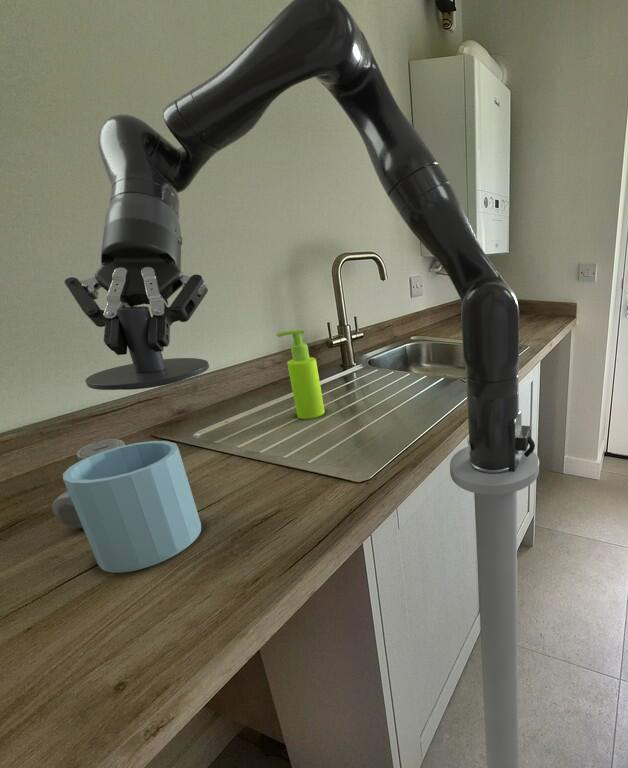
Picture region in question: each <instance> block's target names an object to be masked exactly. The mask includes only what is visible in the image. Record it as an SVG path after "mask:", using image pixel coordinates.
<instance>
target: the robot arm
mask: <svg viewBox="0 0 628 768" xmlns="http://www.w3.org/2000/svg"><path fill="white" fill-rule="evenodd" d="M313 78H315V79H316V81H318V82H319V83H321V85H323V87H325V89H326V90H327V91H328V92H329V93H330V95H331V96H332V97H333V98H334V100H335V101H336V102H337V104H338V105H339V106H340V108H341V109H342V110H343V112H344V114H346V116H347V118H348V119H349V120H350V122H351V123H352V124H353V126H354V127H355V129H356V131H357V132H358V134H359V135H360V137H361V139H362V141H363V145H364V146H365V148H366V151H367V153H368V157H369V159H370V161H371V164H372V167H373V168H374V171H375V174H376V176H377V178H378V180H379V182H380V185H381V187H382V188H383V190H384V192H385V193H386V195H387V197H388V198H389V200H390V202H391V203H392V205H393V207H394V208H395V210H396V211H397V213H398V214H399V216H400V218H401V219H402V220H403V222H404V223H405V224H406V226H407V227H408V228H409V230H410V231H411V232H412V233H413V235H414V236H415V237H416V238H417V240H418V241H419V242H420V243H421V244H422V245H423V246H424V248H425V249H426V250H427V251H428V252H429V253H430V254H431V256H432V257H433V258H434V259H435V260H436V261H437V262H438V264H439V265H440V266H441V267H442V268H443V270H444V271H445V273H446V275H447V276H448V277H449V280H450V281H451V283H452V285H453V287H454V289H455V291H456V293H457V295H458V296H459V298H460V300H461V311H460V318H461V321H460V322H461V334H462V335H461V338H462V352H463V360H464V366H465V381H466V384H465V385H466V402H467V403H466V404H467V423H468V424H467V426H468V436H467V445H468V446H469V449H470V451H469V452H470V465H471V467H472V468H473V469H475V470H477V471H479V472H482V473H488V474H499V473H504V472H508V471H511V472H515V471H516V468H517V466H518V464H519V461H520V459H521V456H522V451H526V450H527V448H529V449H528V450H527V451H526V452H525V453H524V455H525V456H526V457H528V456H529V455H530V454H531V453H532V452H535V449H536V443H535V441H534V440H533V438H532V426H531V425H522V411H521V410H520V403H519V401H520V399H519V395H520V394H519V393H520V392H519V390H520V389H519V373H520V372H519V368H520V367H519V366H520V364H519V363H520V309H519V303H518V299H517V296H516V294H515V292H514V291H513V289H512V288H511V287H510V285H509V284H508V283H507V282H506V281H505V279H504V278H503V277H502V276H501V274H500V273H499V271H498V270H497V269H496V267H495V266H494V264H493V263H492V261H491V260H490V259H489V257H488V255H487V254H486V253H485V251H484V249H483V248H482V246H481V244H480V242H479V241H478V238H477V236H476V234H475V232H474V229H473V227H472V225H471V223H470V221H469V217H468V216H467V214H466V212H465V210H464V207H463V206H462V204H461V201H460V200H459V197H458V196H457V194H456V191H455V190H454V188H453V186H452V185H451V182H450V181H449V179H448V177H447V176H446V174H445V172H444V171H443V169H442V167H441V165H440V164H439V162H438V160H437V159H436V157H435V156H434V154H433V153H432V151H431V150H430V148H429V147H428V145H427V143H426V142H425V141H424V139H423V138H422V136H421V135H420V134H419V133H418V131H417V130H416V129H415V127H414V126H413V125H412V123H411V122H410V121H409V119H408V117H406V115H405V114H404V113H403V111H402V110H401V108H400V106H399V105H398V103H397V101H396V99H395V97H394V95H393V94H392V92H391V90H390V88H389V85H388V83H387V82H386V79H385V77H384V76H383V73H382V70H381V69H380V67H379V64H378V62H377V60H376V58H375V55H374V53H373V52H372V48H371V46H370V44H369V42H368V40H367V37H366V36H365V34H364V33H363V31H362V30H361V28H360V26H359V25H358V23H357V21H356V20H355V18H354V17H353V15H352V14H351V13H350V11H349V10H348V9H347V7H346V6H345V5H344V4H343V2H342V1H341V0H292V1H290V2H289V3H288V5H286V6H285V7H284V8H283V9H282V10H281V11H280V12H279V13H278V14H277V15H276V16H275V18H273V20H271V22H269V24H268V25H267V26H266V27H265V28H264V29H263V30H262V31H261V32H260V33H259V34H258V35H256V36H255V38H253V40H252V41H251V42H250V43H249V44H248V45H246V46H245V47H244V48H243V49H242V50H241V51H240V53H238V54H237V55H236V56H235V57H234V58H233V59H232V60H230V61H229V62H228V63H227V64H226V65H225V66H224V67H222V68H221V69H220V70H219V71H218V72H216V73H215V74H213V75H212V76H211V77H209V78H208V79H206V80H204V81H203V82H201V83H200V84H198V85H197V86H195V87H194V88H192V89H190V90H188V91H187V92H185V93H184V94H182V95H181V96H179V97H178V98H176V99H174V100H173V101H172V102H170V103H168V104H167V105H166V106H165V107H164V108H163V111H162V118H163V121H164V124H165V126H166V127H167V129H168V131H169V132H170V133H171V135H172V136H173V137H174V138H175V140H176V141H177V142H178V143H179V145H180V146H181V147H179V148H178V147H176V146H175V145H174V144H172V143H171V142H170V141H168V140H167V139H166V138H165V137H164V136H163V135H161V133H159V132H158V131H156V130H155V128H153V127H152V126H150V124H148V123H146V122H145V121H144V120H142V119H141V118H139V117H137V116H134V115H131V114H122V113H121V114H116V115H113V116H110V117H109V118H107V119H106V120H105V121H104V122H103V123H102V125H101V127H100V129H99V132H98V138H97V141H98V142H97V145H98V151H99V155H100V158H101V161H102V164H103V166H104V169H105V172H106V175H107V179H108V181H109V183H110V184H111V188H110V198H109V207H108V208H107V211H106V213H105V218H104V225H103V226H104V227H103V234H102V244H101V251H100V262H101V263H100V264H101V265H100V267H99V268H98V269H97V270H96V271H95V273H94V276H93V277H89V278H86V279H83V280H79V279H78V278H77V277H73V276H72V277H71V276H69V277H67V278H65V280H64V281H63V283H64V285H65V286H66V287H67V289H68V290H69V292H70V294H71V295H72V296H73V298H74V300H75V301H76V303H77V304H78V306H79V307H80V309H81V310H82V312H83V313H84V314H85V316H87V318H88V319H89V320H90V321H91V322H92V323H93V324H94V325H95V326H96V327H99V328H103V327H104V332H103V333H104V334H103V342H104V345H106V346H107V347H108V349H109V350H110V351H112V352H114V353H115V354H116V355H117V356H123V355H127V354H128V346H127V342H126V339H125V336H124V333H123V330H122V326H121V323H120V320H119V317H118V313H117V310H116V309H119V308H125V307H138V306H141V305H149V306H150V310H151V311H150V312H151V315H152V316H151V317H149V332H148V343H149V345H150V347H151V348H152V349H153V350H154V351H155V352H161V353H162V352H164V348H167V347H168V346H169V345H170V341H171V340H170V339H171V337H170V336H171V326H172V325H173V323H175V322H180V323H186V322H189V320H190V319H191V317H192V316H193V314H194V313H195V311H196V310H197V309H198V307H199V305H200V304H201V302H202V301H203V299H204V298H205V296H206V295H207V293H208V292H209V288H208V286H207V284H206V282H205V281H204V278H203V277H202V275H200V274H197V273H196V274H192V275H191V276H189V275H186V274H185V275H184V274H183V272H182V266H181V265H182V245H183V237H182V229H181V225H180V196H179V194H180V193H182V192H183V191H185V190H187V189H188V187H190V186H191V184H192V183H193V181H194V180H195V178H196V176H197V175H198V174H199V173H200V171H201V170H202V169H203V167H205V165H207V163H208V162H209V161H210V159H211V158H213V156H215V155H216V154H217V153H219V152H221V151H222V150H225V149H226V148H227V147H229V146H231V145H232V144H234V143H236V142H237V141H239V140H241V139H242V138H244V137H245V136H246V135H247V134H249V133H250V132H251V131H252V130H253V129H254V128H255V127H256V125H258V124H259V122H260V121H261V119H262V118H263V116H264V115H265V113H266V112H267V110H269V109H268V108H269V107H271V105H272V103H273V102H274V101H275V100H277V99H278V97H280V96H281V95H282V94H283V93H285V92H286V91H287V90H288V89H290V88H292V87H293V86H296V85H298V84H301V83H303V82H305V81H308V80H310V79H313ZM101 288H103V289H104V290H105V291H106V292H107V294H106V300H107V302H106V303H107V304H106V306H105V309H101V307H100V306H99V304H98V303H97V302H96V300H98V299H99V290H100V289H101ZM179 289H181V290H180V291H179V292H178V294H177V296H176V297H175V298H174V300H173V301H172V303H171V304H170V301H169V298H171V297H172V296H173V295H174V294H175V293H176V292H177V291H178V290H179ZM468 446H467V447H468Z"/></svg>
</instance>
